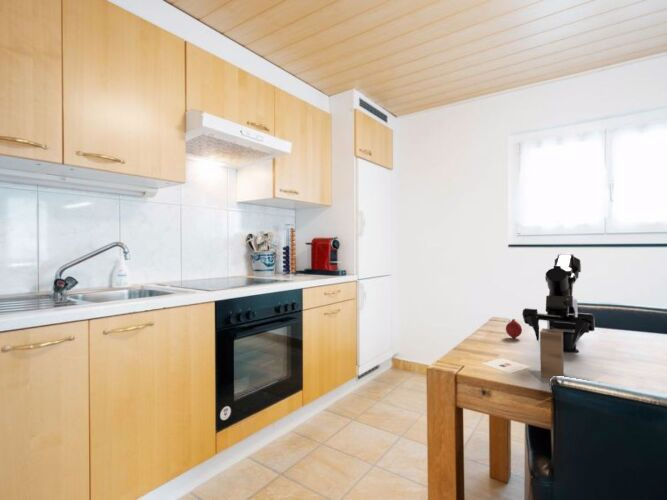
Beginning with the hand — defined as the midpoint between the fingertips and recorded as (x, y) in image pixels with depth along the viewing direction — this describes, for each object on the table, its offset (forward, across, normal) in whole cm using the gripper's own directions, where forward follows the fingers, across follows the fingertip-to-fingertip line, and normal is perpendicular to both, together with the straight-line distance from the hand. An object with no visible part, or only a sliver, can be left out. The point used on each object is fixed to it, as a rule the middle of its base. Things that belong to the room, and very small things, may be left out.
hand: (555, 342), depth 104 cm
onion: (-16, -18, +28) cm, 37 cm away
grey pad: (+11, 0, +1) cm, 11 cm away
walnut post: (+11, 0, 0) cm, 11 cm away
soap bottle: (-26, -2, +39) cm, 47 cm away
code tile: (+10, -13, +2) cm, 16 cm away
